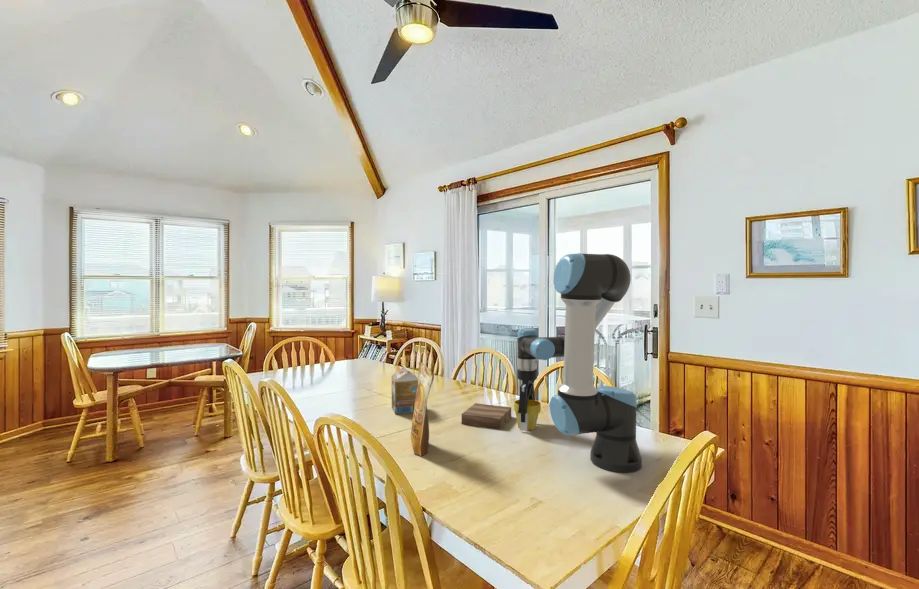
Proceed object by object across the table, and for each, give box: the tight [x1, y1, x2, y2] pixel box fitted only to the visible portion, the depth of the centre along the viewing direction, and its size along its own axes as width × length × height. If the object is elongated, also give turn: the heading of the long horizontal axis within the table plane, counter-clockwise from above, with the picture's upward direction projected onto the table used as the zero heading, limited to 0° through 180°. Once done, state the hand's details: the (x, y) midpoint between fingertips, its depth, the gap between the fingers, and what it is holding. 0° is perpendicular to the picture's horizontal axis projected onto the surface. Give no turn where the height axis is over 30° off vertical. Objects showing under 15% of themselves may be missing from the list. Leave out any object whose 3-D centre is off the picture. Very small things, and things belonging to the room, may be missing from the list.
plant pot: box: [513, 399, 542, 431], centre depth 164 cm, size 10×10×10 cm
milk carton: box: [391, 364, 418, 415], centre depth 186 cm, size 11×11×19 cm
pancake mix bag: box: [410, 361, 435, 457], centre depth 144 cm, size 7×19×28 cm, turn 11°
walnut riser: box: [461, 402, 512, 430], centre depth 172 cm, size 16×16×4 cm
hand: (526, 425), depth 164 cm, fingers open, 10 cm apart
